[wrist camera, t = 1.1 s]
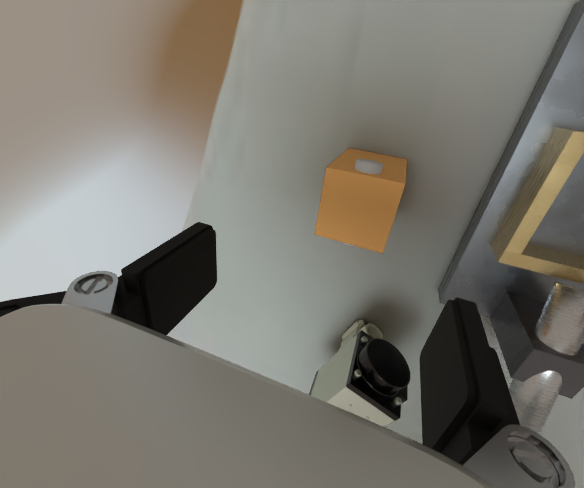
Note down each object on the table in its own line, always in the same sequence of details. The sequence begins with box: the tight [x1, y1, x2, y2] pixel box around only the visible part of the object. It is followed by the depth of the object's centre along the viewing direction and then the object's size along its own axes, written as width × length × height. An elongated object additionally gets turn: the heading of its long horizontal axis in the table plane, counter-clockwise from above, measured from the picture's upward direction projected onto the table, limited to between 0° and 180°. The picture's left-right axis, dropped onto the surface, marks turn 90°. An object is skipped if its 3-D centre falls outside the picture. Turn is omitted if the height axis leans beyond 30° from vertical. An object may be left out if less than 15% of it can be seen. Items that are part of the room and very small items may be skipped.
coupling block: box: [315, 148, 407, 253], centre depth 23 cm, size 6×5×8 cm
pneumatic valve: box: [309, 319, 410, 427], centre depth 29 cm, size 6×12×12 cm, turn 152°
